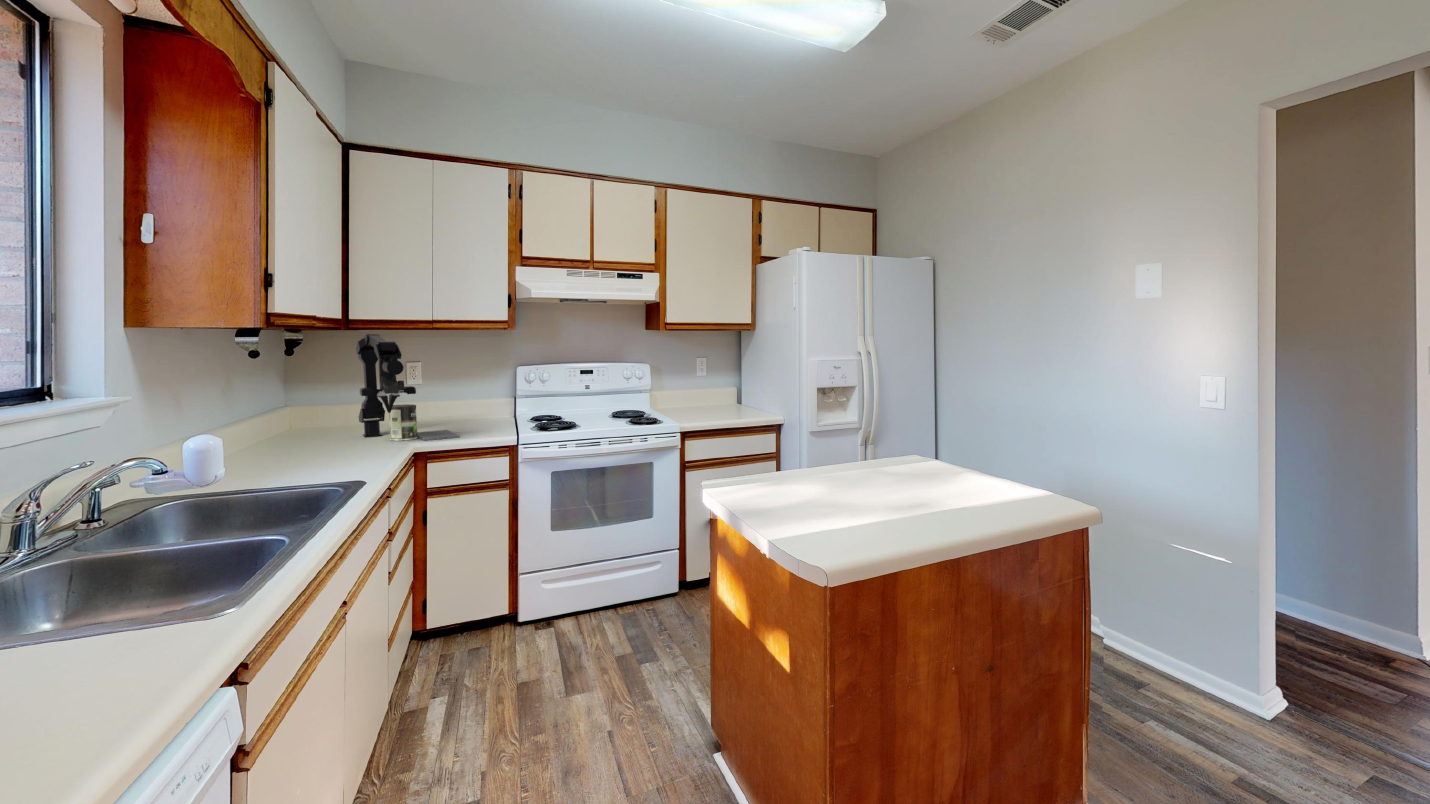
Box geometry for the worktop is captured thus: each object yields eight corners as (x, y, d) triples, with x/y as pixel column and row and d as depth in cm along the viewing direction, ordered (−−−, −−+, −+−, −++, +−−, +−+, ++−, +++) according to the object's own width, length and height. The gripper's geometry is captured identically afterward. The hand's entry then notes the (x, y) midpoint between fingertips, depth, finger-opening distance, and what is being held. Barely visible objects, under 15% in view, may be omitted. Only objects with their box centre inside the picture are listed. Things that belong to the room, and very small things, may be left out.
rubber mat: (412, 434, 246) (412, 432, 246) (447, 431, 255) (447, 429, 255) (423, 440, 231) (423, 438, 231) (459, 437, 240) (459, 435, 240)
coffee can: (419, 436, 242) (418, 403, 240) (415, 440, 232) (413, 406, 231) (392, 437, 239) (391, 404, 237) (386, 441, 229) (385, 407, 227)
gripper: (363, 375, 209) (365, 416, 210) (418, 374, 221) (420, 413, 222) (358, 373, 217) (360, 413, 219) (411, 372, 229) (413, 410, 231)
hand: (389, 412), depth 223 cm, fingers closed
